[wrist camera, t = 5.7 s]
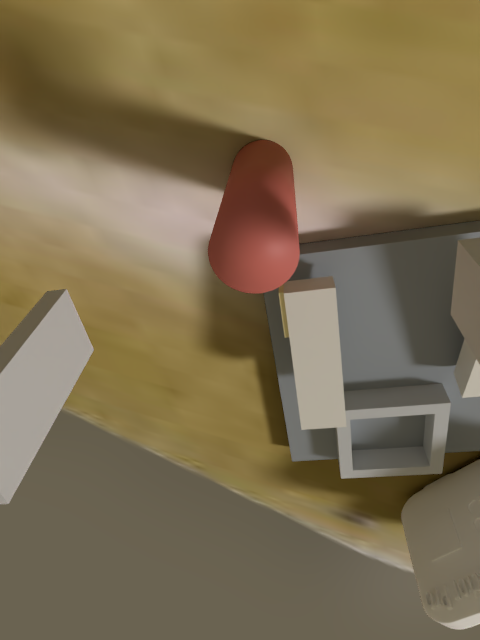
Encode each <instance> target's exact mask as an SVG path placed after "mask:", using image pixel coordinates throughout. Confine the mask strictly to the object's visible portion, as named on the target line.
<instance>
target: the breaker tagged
mask: <svg viewBox="0 0 480 640" xmlns="http://www.w3.org/2000/svg"><path fill="white" fill-rule="evenodd" d="M279 299H280V307H281V314H282V321H283V329H284V336H285V338H287V337H289V338H290V346H291V354H292V361H293V369H294V377H295V384H296V392H297V400H298V407H299V415H300V423H301V430H307V429H322V428H337V427H347V426H346V413H345V400H344V387H343V375H342V362H341V349H340V336H339V324H338V311H337V298H336V287H335V283H334V280H333V276H328V277H319V278H311V279H303V280H294V281H287V282H286V283H284V284H283V285H282V286H280V287H279Z"/></svg>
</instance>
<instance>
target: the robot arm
mask: <svg viewBox="0 0 480 640" xmlns="http://www.w3.org/2000/svg"><path fill="white" fill-rule="evenodd" d="M451 316H452V318H453V319H454V321H455V323H456V324H457V326H458V328H459V330H460V331H461V333H462V335H463V337H464V338H465V340H466V342H467V343H468V345H469V347H470V349H471V350H472V352H473V354H474V356H475V357H476V359H477V361H478V362H479V364H480V237H479V238H471V239H463V240H458V245H457V255H456V265H455V275H454V285H453V294H452V304H451ZM93 351H94V349H93V347H92V344H91V342H90V340H89V338H88V335H87V333H86V331H85V329H84V327H83V324H82V322H81V320H80V318H79V315H78V313H77V311H76V309H75V306H74V304H73V302H72V300H71V298H70V295H69V293H68V291H67V289H62V290H54V291H47V292H46V293H45V294H44V295H43V297H42V298H41V299H40V300H39V301H38V303H37V304H36V305H35V306H34V307H33V308H32V310H31V311H30V312H29V313H28V314H27V316H26V317H25V318H24V319H23V320H22V321H21V323H20V324H19V325H18V326H17V327H16V329H15V330H14V331H13V332H12V333H11V334H10V336H9V337H8V338H7V339H6V340H5V342H4V343H3V344H2V345H1V346H0V504H9V502H10V500H11V498H12V496H13V495H14V493H15V491H16V489H17V487H18V485H19V484H20V482H21V480H22V478H23V477H24V475H25V473H26V471H27V469H28V468H29V466H30V464H31V462H32V460H33V459H34V457H35V455H36V453H37V451H38V450H39V448H40V446H41V444H42V442H43V440H44V439H45V437H46V435H47V433H48V432H49V430H50V428H51V426H52V424H53V422H54V421H55V419H56V417H57V415H58V414H59V412H60V410H61V408H62V406H63V405H64V403H65V401H66V399H67V397H68V396H69V394H70V392H71V390H72V388H73V387H74V385H75V383H76V381H77V379H78V378H79V376H80V374H81V372H82V370H83V369H84V367H85V365H86V363H87V361H88V360H89V358H90V356H91V354H92V352H93Z"/></svg>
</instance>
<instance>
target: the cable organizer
mask: <svg viewBox="0 0 480 640" xmlns="http://www.w3.org/2000/svg"><path fill="white" fill-rule="evenodd" d="M401 520H402V524H403V528H404V532H405V536H406V541H407V545H408V549H409V553H410V557H411V561H412V565H413V569H414V573H415V577H416V581H417V585H418V589H419V593H420V597H421V602H422V605H423V608H424V610H425V612H426V614H427V615H428V616H429V617H430V618H431V619H433V620H434V621H437V622H439V623H440V624H442V625H444V626H446V627H449V628H452V629H466V628H469V627H473V626H476V625H478V624H480V459H478V460H477V461H475V462H473V463H471V464H469V465H467V466H465V467H464V468H462V469H460V470H458V471H456V472H454V473H452V474H447V475H445V476H443V477H442V478H440V479H438V480H436V481H434V482H432V483H431V484H429V485H427V486H425V487H424V488H423V490H421V491H419V492H417V493H415V494H414V495H413V496H411V497H410V498H409V499H408V501H407V502H406V503H405V505H404V507H403V509H402V513H401Z"/></svg>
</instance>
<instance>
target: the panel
mask: <svg viewBox="0 0 480 640" xmlns="http://www.w3.org/2000/svg"><path fill="white" fill-rule="evenodd" d="M479 237H480V221H472V222H465V223H457V224H449V225H442V226H434V227H427V228H419V229H411V230H404V231H396V232H389V233H381V234H373V235H366V236H358V237H350V238H343V239H335V240H328V241H320V242H312V243H305V244H299V249H300V256H299V262H298V265H297V268H296V270H295V272H294V273H293V275H292V276H291V277H290V279H289V280H288V281H294V280H303V279H311V278H319V277H328V276H333V280H334V283H335V287H336V298H337V311H338V324H339V336H340V349H341V362H342V375H343V387H344V400H345V413H346V426H347V427H337V428H322V429H307V430H301V423H300V415H299V407H298V400H297V392H296V384H295V377H294V369H293V361H292V354H291V346H290V338H289V337H287V338H285V336H284V329H283V321H282V314H281V307H280V299H279V287H278V288H276V289H274V290H272V291H268V292H265V293H263V294H264V299H265V305H266V311H267V317H268V323H269V329H270V335H271V340H272V346H273V352H274V358H275V364H276V370H277V376H278V381H279V387H280V393H281V399H282V405H283V411H284V416H285V422H286V428H287V434H288V440H289V446H290V452H291V457H292V461H309V460H326V459H338V461H339V468H340V475H341V479H345V478H365V477H385V476H405V475H425V474H442V471H443V463H444V455H445V453H450V452H468V451H480V397H467V398H462V396H461V393H460V390H459V388H458V385H457V382H456V379H455V376H454V370H455V367H456V364H457V361H458V358H459V354H460V351H461V348H462V345H463V342H464V337H463V335H462V333H461V331H460V330H459V328H458V326H457V324H456V323H455V321H454V319H453V318H452V316H451V304H452V294H453V285H454V275H455V265H456V255H457V245H458V240H463V239H471V238H479Z"/></svg>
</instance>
